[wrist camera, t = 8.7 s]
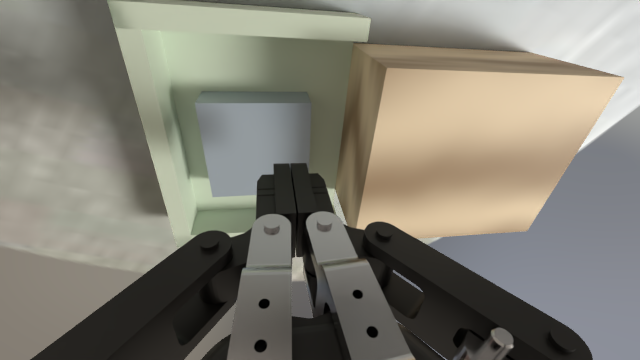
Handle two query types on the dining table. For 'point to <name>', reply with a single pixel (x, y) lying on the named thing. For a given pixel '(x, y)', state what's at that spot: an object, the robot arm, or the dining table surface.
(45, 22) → the dining table surface
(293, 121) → the tile
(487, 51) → the cardboard box
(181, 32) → the tray
